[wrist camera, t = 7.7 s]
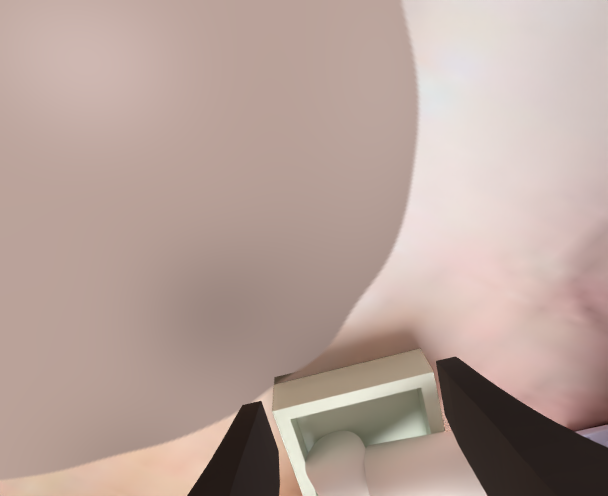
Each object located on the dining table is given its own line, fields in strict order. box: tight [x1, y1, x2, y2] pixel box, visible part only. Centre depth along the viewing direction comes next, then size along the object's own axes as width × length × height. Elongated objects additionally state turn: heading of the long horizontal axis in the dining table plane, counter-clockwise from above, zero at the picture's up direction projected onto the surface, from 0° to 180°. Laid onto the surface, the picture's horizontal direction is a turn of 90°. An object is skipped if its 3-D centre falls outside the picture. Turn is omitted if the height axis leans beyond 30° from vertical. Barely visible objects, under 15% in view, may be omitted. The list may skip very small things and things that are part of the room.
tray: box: [272, 349, 445, 496], centre depth 25 cm, size 9×13×3 cm
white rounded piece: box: [364, 430, 487, 496], centre depth 21 cm, size 4×4×6 cm
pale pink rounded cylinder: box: [305, 430, 370, 496], centre depth 23 cm, size 4×4×6 cm
